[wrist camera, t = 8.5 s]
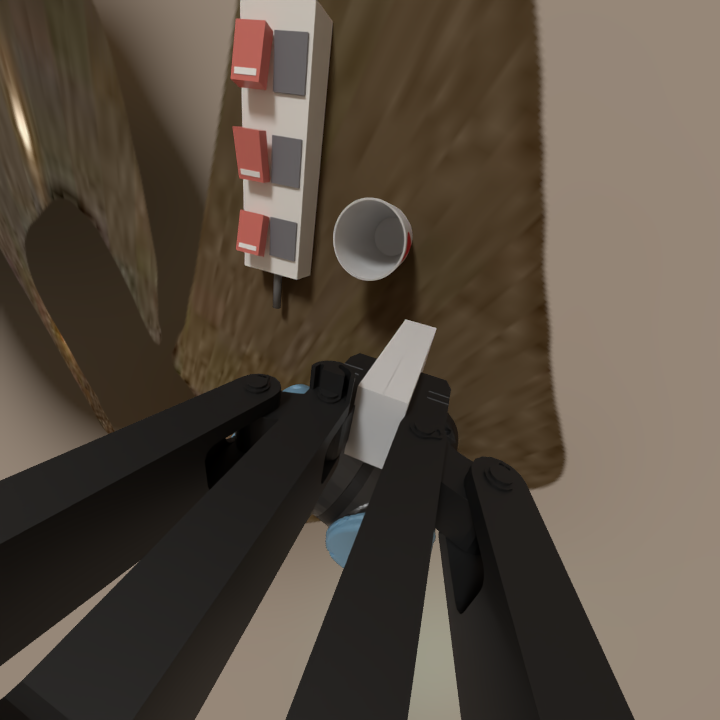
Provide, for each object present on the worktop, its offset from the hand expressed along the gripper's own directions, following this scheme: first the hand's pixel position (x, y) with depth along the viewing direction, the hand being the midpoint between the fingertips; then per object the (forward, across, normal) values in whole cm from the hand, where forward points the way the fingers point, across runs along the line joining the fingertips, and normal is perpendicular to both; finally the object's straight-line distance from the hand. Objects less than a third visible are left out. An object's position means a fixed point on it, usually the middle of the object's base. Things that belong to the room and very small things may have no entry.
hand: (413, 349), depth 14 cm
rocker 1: (+23, +27, -17) cm, 39 cm away
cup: (+29, +9, -2) cm, 30 cm away
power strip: (+28, +25, -5) cm, 38 cm away
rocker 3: (+23, +27, +1) cm, 35 cm away
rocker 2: (+23, +27, -8) cm, 36 cm away
